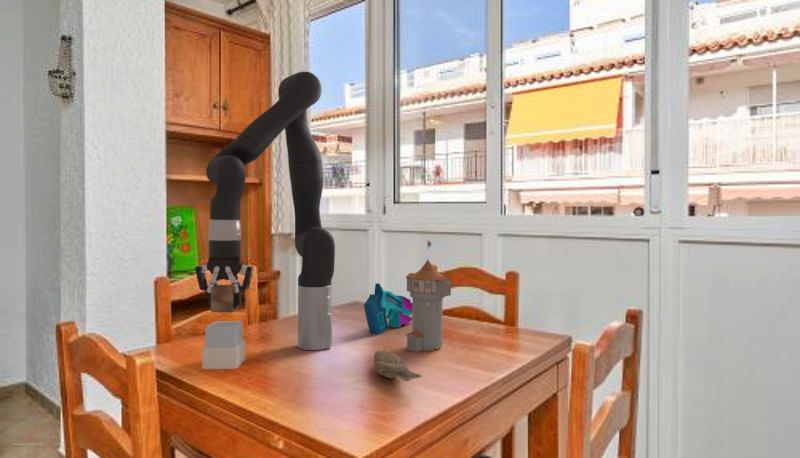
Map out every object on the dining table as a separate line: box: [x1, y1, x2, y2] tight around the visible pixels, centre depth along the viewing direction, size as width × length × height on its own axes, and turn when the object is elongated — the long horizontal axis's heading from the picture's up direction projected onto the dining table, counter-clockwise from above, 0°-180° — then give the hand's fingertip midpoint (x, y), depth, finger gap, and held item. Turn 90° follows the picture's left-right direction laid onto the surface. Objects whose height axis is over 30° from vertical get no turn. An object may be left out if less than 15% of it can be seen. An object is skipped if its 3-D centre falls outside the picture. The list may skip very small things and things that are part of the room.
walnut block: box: [210, 284, 239, 314], centre depth 122 cm, size 5×5×6 cm
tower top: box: [204, 320, 243, 348], centre depth 122 cm, size 7×7×5 cm
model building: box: [405, 240, 453, 353], centre depth 140 cm, size 14×12×30 cm
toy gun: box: [363, 283, 413, 336], centre depth 162 cm, size 4×26×15 cm, turn 148°
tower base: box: [201, 339, 246, 370], centre depth 122 cm, size 8×8×5 cm
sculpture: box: [373, 350, 423, 382], centre depth 111 cm, size 6×25×5 cm, turn 22°
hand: (224, 307), depth 122 cm, fingers closed on walnut block, 5 cm apart
